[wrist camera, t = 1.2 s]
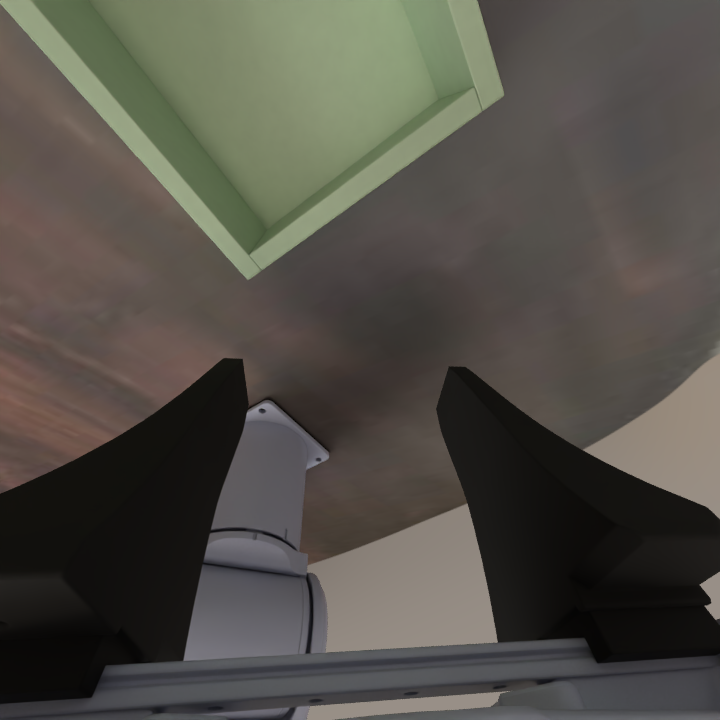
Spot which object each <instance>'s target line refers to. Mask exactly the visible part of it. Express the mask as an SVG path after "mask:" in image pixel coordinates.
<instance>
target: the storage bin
mask: <svg viewBox="0 0 720 720" xmlns="http://www.w3.org/2000/svg"><path fill="white" fill-rule="evenodd" d="M0 4H1V5H2V6H3V7H4V8H5V9H6V11H7V12H8V13H9V14H10V15H11V16H12V17H13V18H14V19H15V21H16V22H17V23H18V24H19V25H20V26H21V27H22V28H23V30H24V31H25V32H26V33H27V34H28V35H29V36H30V37H31V38H32V40H33V41H34V42H35V43H36V44H37V45H38V46H39V47H40V49H41V50H42V51H43V52H44V53H45V54H46V55H47V56H48V57H49V59H50V60H51V61H52V62H53V63H54V64H55V65H56V66H57V68H58V69H59V70H60V71H61V72H62V73H63V74H64V75H65V76H66V78H67V79H68V80H69V81H70V82H71V83H72V84H73V85H74V87H75V88H76V89H77V90H78V91H79V92H80V93H81V94H82V95H83V97H84V98H85V99H86V100H87V101H88V102H89V103H90V104H91V106H92V107H93V108H94V109H95V110H96V111H97V112H98V113H99V114H100V116H101V117H102V118H103V119H104V120H105V121H106V122H107V123H108V125H109V126H110V127H111V128H112V129H113V130H114V131H115V132H116V133H117V135H118V136H119V137H120V138H121V139H122V140H123V141H124V142H125V144H126V145H127V146H128V147H129V148H130V149H131V150H132V151H133V152H134V154H135V155H136V156H137V157H138V158H139V159H140V160H141V161H142V163H143V164H144V165H145V166H146V167H147V168H148V169H149V170H150V171H151V173H152V174H153V175H154V176H155V177H156V178H157V179H158V180H159V182H160V183H161V184H162V185H163V186H164V187H165V188H166V189H167V190H168V192H169V193H170V194H171V195H172V196H173V197H174V198H175V199H176V201H177V202H178V203H179V204H180V205H181V206H182V207H183V208H184V209H185V211H186V212H187V213H188V214H189V215H190V216H191V217H192V218H193V220H194V221H195V222H196V223H197V224H198V225H199V226H200V227H201V228H202V230H203V231H204V232H205V233H206V234H207V235H208V236H209V237H210V239H211V240H212V241H213V242H214V243H215V244H216V245H217V246H218V247H219V249H220V250H221V251H222V252H223V253H224V254H225V255H226V256H227V258H228V259H229V260H230V261H231V262H232V263H233V264H234V265H235V266H236V268H237V269H238V270H239V271H240V272H241V273H242V274H243V275H244V277H245V278H246V279H247V280H250V279H251V278H252V277H254V276H255V275H256V274H258V273H259V272H261V270H263V269H265V268H266V267H268V266H269V265H270V264H272V263H273V262H274V261H276V260H277V259H279V258H280V257H281V256H283V255H284V254H286V253H287V252H288V251H290V250H291V249H292V248H294V247H295V246H297V245H298V244H299V243H301V242H302V241H304V240H305V239H306V238H308V237H309V236H310V235H312V234H313V233H315V232H316V231H317V230H319V229H320V228H322V227H323V226H324V225H326V224H327V223H329V222H330V221H331V220H333V219H334V218H335V217H337V216H338V215H340V214H341V213H342V212H344V211H345V210H347V209H348V208H349V207H351V206H352V205H353V204H355V203H356V202H358V201H359V200H360V199H362V198H363V197H365V196H366V195H367V194H369V193H370V192H371V191H373V190H374V189H376V188H377V187H378V186H380V185H381V184H383V183H384V182H385V181H387V180H388V179H389V178H391V177H392V176H394V175H395V174H396V173H398V172H399V171H401V170H402V169H403V168H405V167H406V166H408V165H409V164H410V163H412V162H413V161H414V160H416V159H417V158H419V157H420V156H421V155H423V154H424V153H426V152H427V151H428V150H430V149H431V148H432V147H434V146H435V145H437V144H438V143H439V142H441V141H442V140H444V139H445V138H446V137H448V136H449V135H450V134H452V133H453V132H455V131H456V130H457V129H459V128H460V127H462V126H463V125H464V124H466V123H467V122H469V121H470V120H471V119H473V118H474V117H475V116H477V115H478V114H480V113H481V112H482V111H483V110H485V109H487V108H488V107H489V106H491V105H492V104H494V103H495V102H496V101H498V100H499V99H500V98H502V97H503V96H504V91H503V88H502V84H501V81H500V77H499V74H498V71H497V67H496V64H495V60H494V57H493V53H492V50H491V46H490V43H489V39H488V36H487V32H486V29H485V25H484V22H483V18H482V15H481V11H480V8H479V4H478V1H477V0H0Z"/></svg>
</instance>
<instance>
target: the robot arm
mask: <svg viewBox="0 0 720 720" xmlns="http://www.w3.org/2000/svg"><path fill="white" fill-rule="evenodd" d="M248 406H249V403H248V396H247V388H246V381H245V374H244V366H243V359H232V358H223V359H222V360H221V361H220V362H218V363H217V364H216V365H215V366H214V367H213V368H211V369H210V370H209V371H208V372H207V373H205V374H204V375H203V376H202V377H201V378H200V379H198V380H197V381H196V382H195V383H193V384H192V385H191V386H190V387H189V388H187V389H186V390H185V391H184V392H182V393H181V394H180V395H178V396H177V397H176V398H174V399H173V400H172V401H170V402H169V403H168V404H166V405H165V406H164V407H162V408H161V409H160V410H158V411H157V412H155V413H154V414H153V415H151V416H150V417H148V418H147V419H145V420H144V421H142V422H141V423H139V424H137V425H136V426H134V427H133V428H131V429H129V430H128V431H126V432H124V433H123V434H121V435H120V436H118V437H116V438H114V439H113V440H111V441H109V442H107V443H105V444H103V445H102V446H100V447H98V448H96V449H94V450H92V451H90V452H89V453H87V454H85V455H83V456H81V457H79V458H77V459H75V460H74V461H72V462H69V463H67V464H65V465H63V466H61V467H59V468H57V469H55V470H53V471H51V472H49V473H47V474H44V475H42V476H40V477H38V478H36V479H33V480H31V481H29V482H27V483H25V484H22V485H20V486H18V487H15V488H13V489H11V490H8V491H6V492H3V493H1V494H0V720H306V719H307V715H308V711H309V708H310V706H316V705H330V704H342V703H356V702H369V701H382V700H396V699H409V698H421V697H422V698H423V697H436V696H449V695H462V694H476V693H488V692H502V691H510V692H506V693H502V694H500V696H499V699H498V702H496V703H495V704H494V705H493V706H491V707H486V708H474V709H462V710H445V711H424V712H411V713H398V714H385V715H374V716H366V717H357V718H347V719H338V720H720V619H717V620H715V619H714V618H713V616H712V615H711V614H710V613H709V611H708V610H707V609H706V608H705V606H704V605H709V604H710V603H711V599H710V597H709V596H708V595H707V594H706V593H705V591H704V590H703V589H702V588H701V586H700V584H701V583H703V582H704V581H706V580H707V579H708V578H710V577H712V576H713V575H715V574H717V573H718V572H720V519H719V518H718V517H717V516H716V515H715V514H714V513H713V512H712V511H711V510H709V509H708V508H707V507H705V506H703V505H700V504H697V503H695V502H693V501H691V500H688V499H686V498H683V497H681V496H678V495H676V494H673V493H671V492H668V491H666V490H664V489H661V488H659V487H656V486H654V485H652V484H649V483H647V482H645V481H643V480H640V479H639V478H636V477H634V476H632V475H630V474H627V473H626V472H623V471H621V470H619V469H617V468H615V467H613V466H611V465H609V464H607V463H605V462H603V461H601V460H600V459H598V458H596V457H594V456H592V455H590V454H588V453H587V452H585V451H583V450H581V449H579V448H578V447H576V446H574V445H572V444H571V443H569V442H567V441H566V440H564V439H562V438H561V437H559V436H558V435H556V434H554V433H553V432H551V431H550V430H548V429H546V428H545V427H543V426H542V425H540V424H539V423H538V422H536V421H535V420H533V419H532V418H531V417H529V416H528V415H526V414H525V413H524V412H522V411H521V410H520V409H518V408H517V407H516V406H514V405H513V404H512V403H510V402H509V401H508V400H507V399H505V398H504V397H503V396H501V395H500V394H499V393H498V392H496V391H495V390H494V389H493V388H492V387H490V386H489V385H488V384H487V383H485V382H484V381H483V380H482V379H481V378H479V377H478V376H477V375H476V374H474V373H473V372H472V371H470V370H469V369H467V368H466V367H453V366H449V368H448V371H447V374H446V378H445V381H444V384H443V388H442V391H441V395H440V398H439V401H438V405H437V408H436V410H437V415H438V419H439V424H440V428H441V432H442V435H443V438H444V441H445V443H446V446H447V449H448V451H449V454H450V457H451V459H452V462H453V464H454V467H455V469H456V472H457V475H458V477H459V480H460V482H461V485H462V488H463V491H464V494H465V497H466V500H467V503H468V507H469V510H470V514H471V518H472V521H473V525H474V529H475V533H476V537H477V541H478V545H479V550H480V554H481V558H482V562H483V567H484V572H485V576H486V581H487V585H488V590H489V596H490V601H491V606H492V612H493V617H494V623H495V628H496V634H497V640H498V643H484V644H467V645H449V646H431V647H415V648H397V649H381V650H363V651H346V652H329V653H325V651H326V642H327V625H328V621H327V619H328V618H327V604H326V598H325V594H324V591H323V589H322V587H321V585H320V582H319V580H318V578H317V576H316V575H315V574H313V573H307V563H308V554H306V553H301V552H299V550H300V538H301V526H302V515H303V503H304V491H305V479H306V470H307V469H309V468H311V467H313V466H315V465H317V464H319V463H321V462H323V461H325V460H327V459H328V458H329V452H328V451H327V450H326V449H325V448H324V447H322V446H321V445H320V444H319V443H318V442H317V441H316V440H315V439H314V438H312V437H311V436H310V435H309V434H308V433H307V432H306V431H305V430H304V429H302V428H301V427H300V426H299V425H298V424H297V423H296V422H295V421H294V420H293V419H291V418H290V417H289V416H288V415H287V414H286V413H285V412H284V411H283V410H281V409H280V408H279V407H278V406H277V405H276V404H275V403H274V402H272V401H270V400H265V401H262V402H261V403H259V404H257V405H256V406H254V407H252V408H250V409H249V410H248ZM261 408H262V409H265V410H261Z"/></svg>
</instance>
